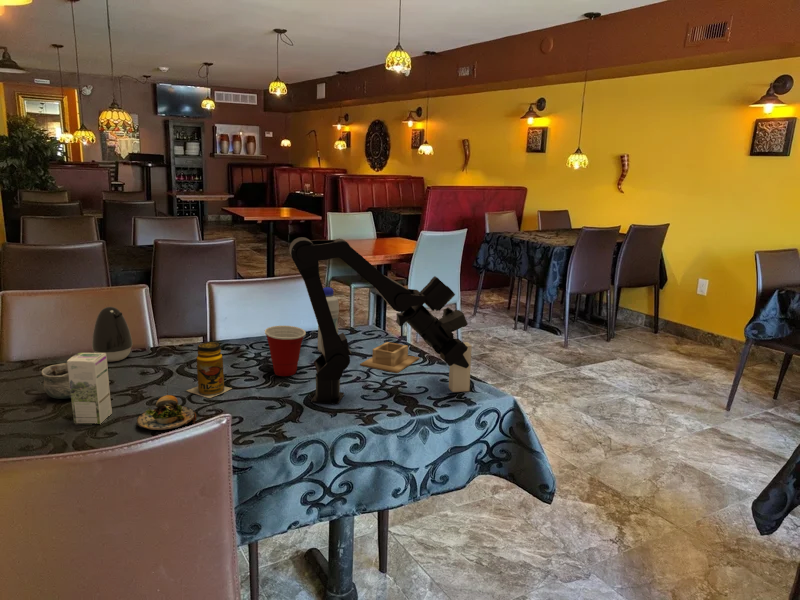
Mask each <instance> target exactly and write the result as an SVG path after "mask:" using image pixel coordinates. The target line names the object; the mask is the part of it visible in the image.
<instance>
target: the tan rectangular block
mask: <svg viewBox="0 0 800 600" xmlns="http://www.w3.org/2000/svg"><path fill="white" fill-rule="evenodd" d="M462 342H463V341H462ZM463 343H464V344H465V345H466V346H467V347H468V349H467V351H466V352H465V353H464V354H463V355H464V357H465V359H466V361H467V362H468V364H469V366H468V367H467V368H464V367H461V366H458V365H455V364H453V365H452V366H449V370H448V371H449V375H448V389H449V390H450V391H451V392H452V393H460V392H461V393H462V392H470V387H471V386H470V384H471V368H472V367H471V366H472V348H473V346H472V344H471V343H469V342H468V341H467V342H465V341H464V342H463Z"/></svg>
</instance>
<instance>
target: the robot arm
mask: <svg viewBox="0 0 800 600" xmlns="http://www.w3.org/2000/svg"><path fill="white" fill-rule="evenodd" d="M288 249H289V250H288V251H289V254H290V257H291V259H292V261H293V263H294V265H295V268H297V270H298V272H299V274H300V276H301V278H302V279H303V282H304V286H305V288H306V291H307V294H308V298H309V300H310V304H311V308H312V310H313V313H314V317H315V319H316V323H317V327H318V326H319V329H320V333H321V344H322V352H323V353H320V355H318V357H317V358H316V359H315V360H314V361H313V365H314V367H315V370H316V373H315V395H314V396H313V397H312V399H311V401H310V402H311V403H315V404H316V403H319V404H328V405H338V404H339V403H340V401H341V400H342V398H343V397H344V396H345V392H342V391H340V390H341V387H340V386H341V379H342V378H341V377H342V376H343V372H344V371H345V370H346V369H347V368H348V367H349V366H350V364H351V357H350V356H353V353H352V352H351V349H350V348H349V342H348V338H347V336H346V334H345V333H344V332H342V333H339V332H338V333H337V331H336V328H335V325H334V322H333V318H332V315H331V312H330V309H329V306H328V302H327V299H326V296H325V293H324V289H323V288H324V286H323V283H322V280H321V276H320V264H319V263H320V261H326V260H331V259H332V260H333V259H338V258H339V259H341V260H342V261H343V262H345V264H346V265H348V266H349V267H350V268H351V269H353V270H354V271H355V272H356V273H357V274H358V275H360V277H362V278H363V279H364V280H365V281H367V282H368V283H369V284H371V286H372V287H374V288H375V290H376V291H377V292H378V294H379V295H380V296H381V297H382V298H383V300H384V301H385V302H386V303H387V304H388V305H389V306H390V308H392V309H393V310H394V311H396V321H395V322H396V323H397V325H398V326H399V327H402V326H404V325H405V323H407V324H408V325H409V327H411V328H412V329H413V330H414V332H416V333H417V334H418V335H419V336H420V337H421V338H422V339H423V341H424V342H425V343H426V344H427V346H429V347H430V348H432V349H433V350H434V352H435V353H437V354H438V355H439V357H440V358H441V359H442V361H443V362H444V363H446V364H447V365H448V366H449V367H450V366H452V365H453V364H455V365H458V366H461V367H464V368H467V367H468V366H469V364H468V362H467V361H466V359H465V357H464V355H463V354H464V353H465V352H466V351H467V349H468V347H467V346H466V345H465V344H464V343H463V341H462V340H461V339H460V338H455V337H454V335H455V334H454V332H456V331H457V330H460V329H461V328H465V327H467V326H468V321H467V318H466V316H465V313H464V312H463V311H461V310H460V309H454V310H452V309H451V307H445V306H446V305H447V304H448V303H449V302H450V301H451V300H452V299H453V298H454V297H455V296H456V293H455V292H454V291H453V290H452V289H451V288H450V286H448V285H446V284H445V283H444V282H443V281H442V280H440V279H439V277H437V276H435V275H434V276H433V277H432V278H431V279H430V280H429V282H428V283H427V285H425V286H423V288H422V289H421V290H420V291H419V290H418V289H415V288H414V289H413V288H406V287H405V286H403V284H401V283H399V282H397V281H396V280H394V279H392V278H390V277H389V276H386V275H385V274H383V273H382V272H381V271H379V270H378V269H377V267H375V266H374V265H373V264H371V263H370V262H369V261H368V260H367V259H365V258H364V257H363V256H362V255H361V254H360V253H359V252H358V251H356V250H355V249H354V248H353V247H351V245H350V244H349V243H348V241H346V240H345V239H343V238H341V237H340V238H335V239H314V240H313V239H312V240H310V239H309V238H307V237H305V236H304V237H302V236H301V237H297V238H295V239H293V240H292V241H291V243H290V244H289V248H288ZM424 304H425V306H427V307H428V308H429V310H430V311H432V312H434V311H436V312H440V311H441V310H442V309H443V308H444V307H445V308H444V309H443V310H442V311H443V312H442V313H443V314H442V316H441V318H437V316H434V315H433V314H432V312H430V311H429V310H428V308H426V307H425V306H424Z"/></svg>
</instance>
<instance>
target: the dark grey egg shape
mask: <svg viewBox="0 0 800 600" xmlns="http://www.w3.org/2000/svg"><path fill="white" fill-rule="evenodd" d="M130 330H131V329H130V328H129V325H128V323H127V320H126V319H125V316H124V314H123V312H122V311H120V310H119V309H118V308H117V307H115V306H106V307H104V308H102V309H101V310H100V311H99V313H98V315H97V317H96V319H95V323H94V326H93V332H92V339H91V349H92V351H93V353H106V357H107V363H110V362H111V363H112V362H119V361H122V360H124V359H126V358H127V357H128V356H129V354H130V352H131V351H132V347H133V345H134V344H133V338H132V334H131V331H130Z"/></svg>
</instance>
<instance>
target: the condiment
mask: <svg viewBox="0 0 800 600" xmlns="http://www.w3.org/2000/svg"><path fill="white" fill-rule="evenodd" d="M221 352H222V349H221V344H220V343H218V342H216V341H215V342H214V341H207V342H203V343H202V342H201V343H200V344H198V345H197V356H196V372H197V376H196V377H197V385H198V386H196V387H192V388H191V389H187V390H186V392H188V393H191V394H195V395H198V396H200V397H204V398H207V399H211V398H213V397H216V396H220V395H222V394H224V393H227V392H228V391H230V390H232V389H233V388H232V387H228V386H225V381H224V380H225V377H224V358H223V354H222V353H221Z"/></svg>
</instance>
